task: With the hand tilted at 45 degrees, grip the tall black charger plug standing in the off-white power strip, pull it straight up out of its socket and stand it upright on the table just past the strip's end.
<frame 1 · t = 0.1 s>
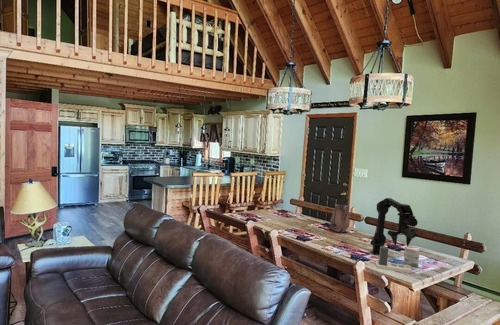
hand: (401, 245, 228), 15 cm above the table, tool pointing down, fingers open, 9 cm apart
power strip: (392, 269, 222), on the table
charger plug: (382, 266, 224), point 1 cm above the table, touching power strip
ceramic pitcher: (340, 231, 317), on the table
ink box: (410, 265, 234), on the table
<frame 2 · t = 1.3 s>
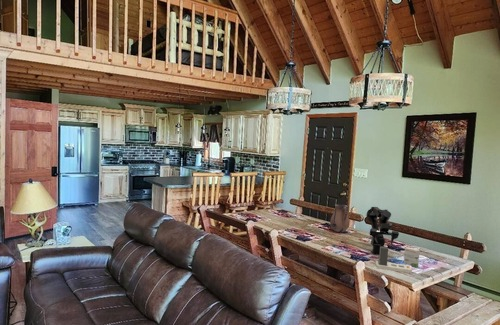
hand: (384, 243, 233), 14 cm above the table, tool tilted 45°, fingers open, 9 cm apart
nothing on the table moved.
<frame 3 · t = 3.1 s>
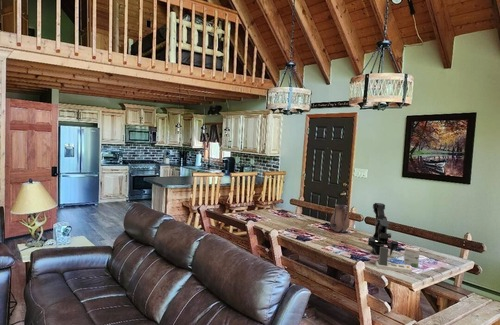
hand: (383, 254, 224), 9 cm above the table, tool tilted 45°, fingers open, 9 cm apart
nothing on the table moved.
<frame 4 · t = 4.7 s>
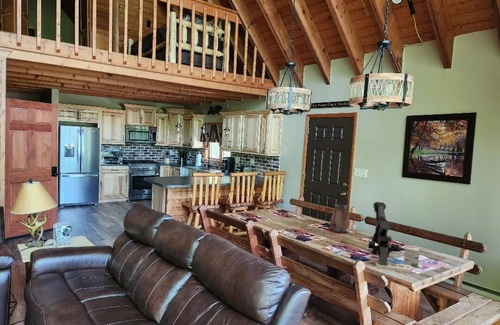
hand: (383, 257, 222), 8 cm above the table, tool tilted 45°, fingers closed on charger plug, 4 cm apart
charger plug: (382, 266, 224), point 1 cm above the table, touching gripper, power strip
everything else where it was.
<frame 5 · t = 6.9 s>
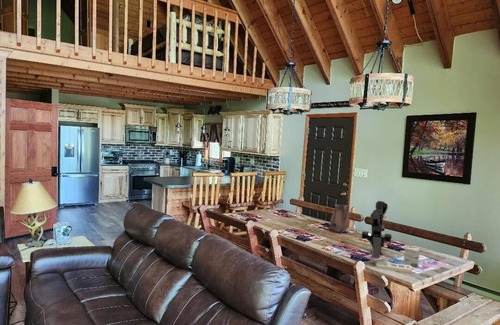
hand: (376, 247, 224), 13 cm above the table, tool tilted 45°, fingers closed on charger plug, 4 cm apart
charger plug: (375, 256, 226), point 7 cm above the table, touching gripper
everything else where it was.
when the fingers open (8 cm above the table, at t = 9.4 s): charger plug drops 1 cm, on the table.
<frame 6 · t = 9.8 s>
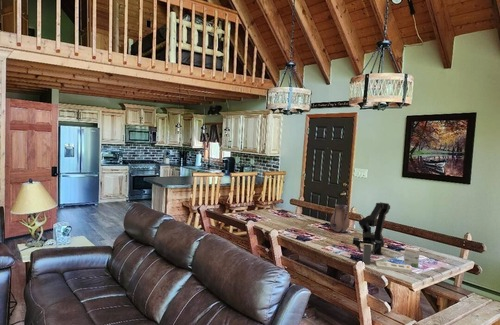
hand: (367, 253, 228), 8 cm above the table, tool tilted 45°, fingers open, 8 cm apart
charger plug: (365, 264, 229), on the table
everything else where it was.
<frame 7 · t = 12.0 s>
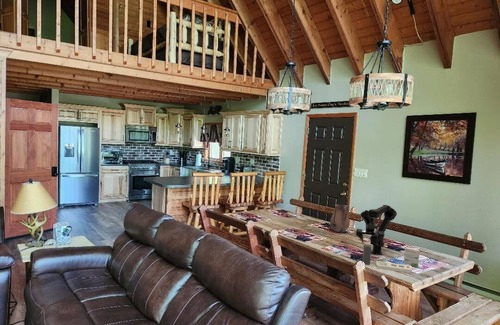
hand: (370, 244, 235), 12 cm above the table, tool tilted 45°, fingers open, 9 cm apart
nothing on the table moved.
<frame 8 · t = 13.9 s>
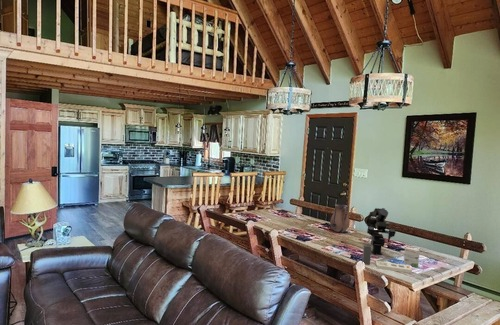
hand: (381, 241, 239), 14 cm above the table, tool tilted 45°, fingers open, 9 cm apart
nothing on the table moved.
at the end: charger plug inside the target area (0.0 cm from its centre), on the table; charger plug tilted 0°; charger plug touching table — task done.
